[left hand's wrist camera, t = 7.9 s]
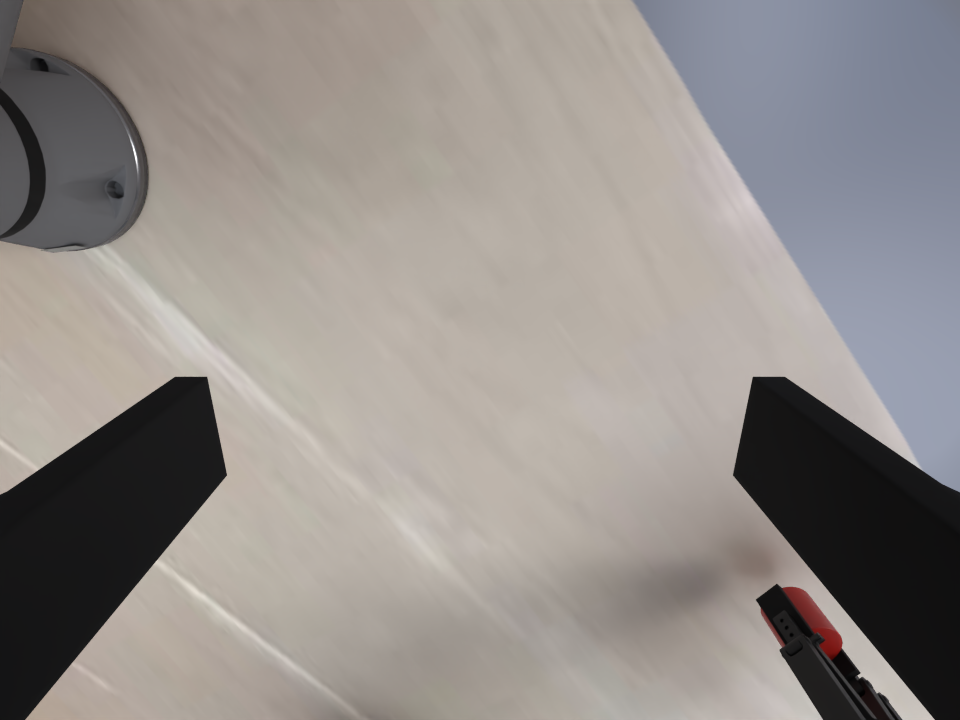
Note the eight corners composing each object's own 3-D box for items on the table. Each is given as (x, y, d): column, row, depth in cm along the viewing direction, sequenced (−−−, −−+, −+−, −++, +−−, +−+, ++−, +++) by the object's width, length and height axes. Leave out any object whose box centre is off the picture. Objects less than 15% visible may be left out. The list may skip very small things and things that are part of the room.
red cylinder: (750, 604, 53) (777, 646, 48) (794, 578, 52) (825, 618, 47) (776, 631, 54) (804, 675, 50) (819, 606, 53) (852, 649, 49)
